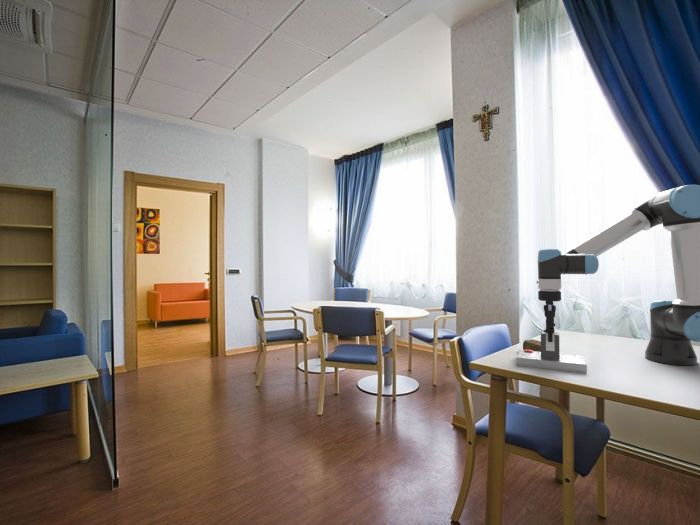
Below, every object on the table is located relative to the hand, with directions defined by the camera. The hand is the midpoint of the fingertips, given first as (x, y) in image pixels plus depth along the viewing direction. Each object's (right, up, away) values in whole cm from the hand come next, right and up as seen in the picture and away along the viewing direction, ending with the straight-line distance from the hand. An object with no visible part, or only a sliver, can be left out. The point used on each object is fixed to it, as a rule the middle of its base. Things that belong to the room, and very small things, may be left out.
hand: (549, 346), depth 136 cm
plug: (0, -6, 0) cm, 6 cm away
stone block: (+4, -7, +17) cm, 19 cm away
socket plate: (0, -7, 0) cm, 7 cm away
